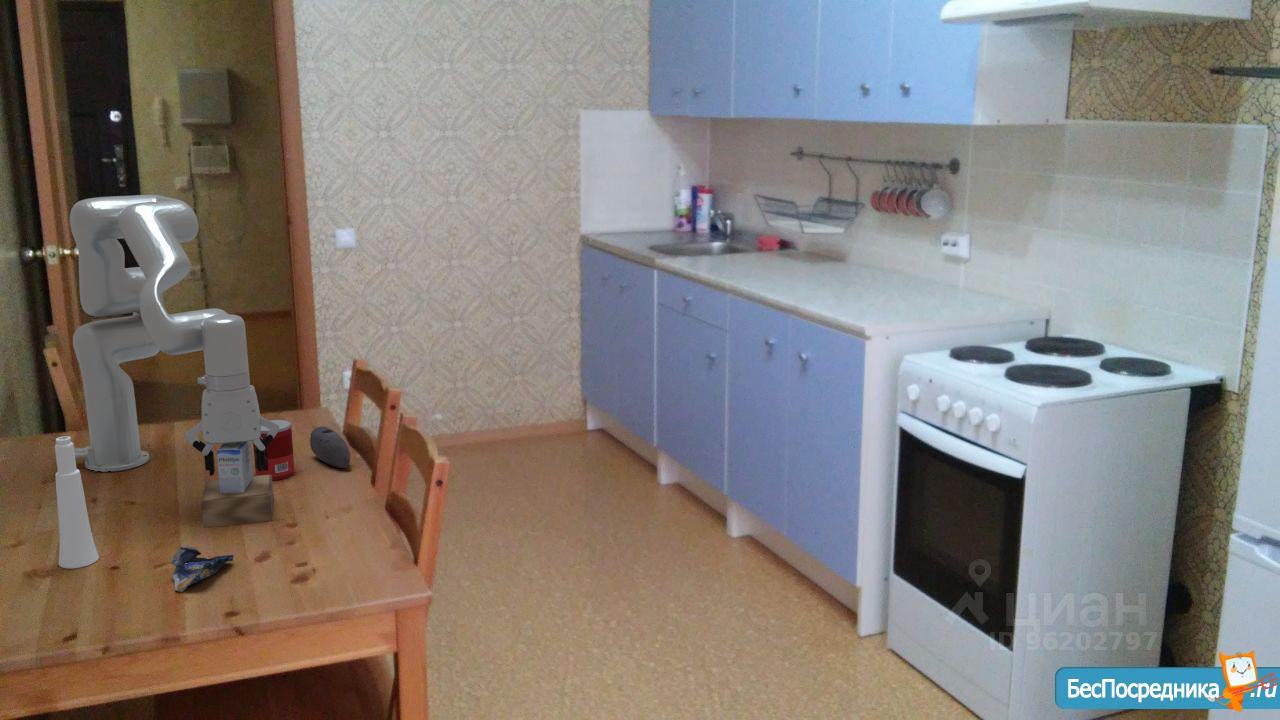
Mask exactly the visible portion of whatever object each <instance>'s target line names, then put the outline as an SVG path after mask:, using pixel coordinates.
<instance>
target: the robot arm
mask: <svg viewBox="0 0 1280 720" xmlns="http://www.w3.org/2000/svg"><path fill="white" fill-rule="evenodd" d="M69 214H70V215H69V225H70V230H71V234H72V236H73V239H74V242H75V245H76V248H77V252H78V253H77V254H78V279H79V281H78V282H79V298H80V299H79V300H80V305H81V307H82V308H81V309H82V310H83V311H84V312H85V313H86V314H87V315H89V316H92V317H98V318H100V317H111V316H119V315H125V314H131V313H132V315H129V316H123V317H115V318H107V319H101V320H95V321H94V320H93V321H90V322H87V323H84V324H82V325H80V326H79V327H78V328H77V329H76V330H75V332H74V333H73V336H72V344H73V345H72V347H73V349H74V353H75V356H76V359H77V362H78V365H79V369H80V374H81V379H82V385H83V391H84V392H83V393H84V400H85V409H86V417H87V425H88V433H89V442H90V444H89V445H86V446H85V447H74V452H75V460H76V459H77V460H78V459H79V460H80V459H85V461H84V467H85V469H87V468H88V469H90V470H89V471H91V470H94V471H93V472H97V471H101V472H102V473H106V472H107V473H108V471H111V472H121V471H126V470H130V469H134V468H137V467H140V466H142V465H144V464H146V463H147V462H149V460H150V454H149V452H147V451H145V450H141V443H140V432H139V424H138V415H137V407H136V406H137V405H136V398H135V389H134V383H133V380H132V378H131V376H129V374H128V373H126V372H125V371H124V370H123V369H122V368H121V366H120V364H122V363H126V362H131V361H136V360H142V359H147V358H151V357H154V356H156V355H158V354H159V352H160V351H161V352H163V354H166V355H168V356H169V355H170V356H173V355H174V356H176V355H182V354H188V353H193V352H199V351H203V357H204V358H203V360H204V370H205V374H204V375H203V376H201V377H197V384H198V385H202V386H204V387H206V388H205V389H203V390H202V396H201V421H199V422H198V423H197V424H196V425H194V426H193V427H191V428H190V429H189V430H187V431H186V432H185V433H184V438H185V439H186V440H187V441H188V442H189V444H191V445H192V447H193V449H196V450H197V451H198V452H199V453H201V454H202V456H204V457H203V458H204V469H205V471H209V476H211V477H212V476H214V475H215V472H216V469H215V468H216V467H215V456H214V455H215V454H214V451H213V450H212V448H214V446H215V445H222V444H227V443H239V442H250V443H252V444H253V443H254V444H255V445H256V446H257V448H256V458H257V470H258V471H262V465H265V451H264V450H265V448H266V447H267V446H268V445H269V444H270V442H271V441H272V440H273V438H274V437H275V435H276V434H277V432H278V431H279V425H277V424H275V423H273V422H272V421H270V420H269V419H268V418H265V417H264V416H262V415H261V413H260V407H259V402H258V395H257V393H256V389H255V386H254V385H252V384H251V380H250V379H251V378H250V370H249V369H250V368H249V359H248V358H249V356H248V344H247V333H246V332H247V331H246V324H245V321H244V319H243V318H242V317H241V316H240V315H237V314H232V313H231V314H229V313H228V312H226V311H225V310H223V309H220V308H204V309H198V310H189V311H185V312H177V313H176V312H175V313H172V314H171V313H168V312H167V310H166V308H165V307H164V301H163V299H164V298H163V293H164V292H165V291H167V290H168V289H170V288H172V287H173V286H175V285H177V284H178V283H179V282H181V281H183V279H184V278H185V277H187V275H188V274H189V272H190V270H191V260H190V259H189V256H187V253H186V252H185V250H184V249H183V247H182V245H181V243H187V242H191V241H193V240H194V239H195V238H196V237H197V236H198V233H199V220H198V217H197V215H196V213H195V211H194V210H193V208H192V207H191V206H190V205H189V204H188V203H187V202H185V201H183V200H180V199H178V198H172V197H167V196H164V195H158V194H135V195H117V196H115V195H114V196H99V197H91V198H85V199H82V200H79V201H77V202H76V203H75V204H74V205H73V206H72V207H71V210H70V213H69ZM118 239H123V240H124V241H125V242H126V245H127V246H128V248H129V250H130V252H131V254H132V256H133V257H134V259H135V261H136V263H137V265H138V266H135V267H127V268H126V267H125V265H126V264H125V260H126V259H125V258H126V257H125V251H124V248H123V246H122V244H121V243H120V241H119V240H118ZM261 425H262V426H264V427H266V428H268V429H269V430H270V431H269V433H268V434H267V435H266V436H265V437H264V438H263V439H262V438H261V436H260V435H261ZM201 431H202V438H203V441H204V442H203V441H201V440H200V439H198V437H197V436H196V435H198V434H199V433H200V432H201ZM88 469H87V470H88ZM101 472H100V473H101Z"/></svg>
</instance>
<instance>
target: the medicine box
mask: <svg viewBox="0 0 1280 720" xmlns="http://www.w3.org/2000/svg"><path fill="white" fill-rule="evenodd" d="M251 443H252V442H251V441H250V442H239V443H227V444H220V447H219V448H218V449H217V450H216V459H217V461H216V462H217V468H218V469H217V470H218V471H217V472H218V480H219V484H220V493H221V494H237V493H244V492H245V490H246V488H247V487H248V485H249V484H250V482H251V480H252V479H253V476H254V474H253V473H254V472H253V459H252V447H251V446H252V445H251Z"/></svg>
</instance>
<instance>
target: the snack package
mask: <svg viewBox="0 0 1280 720" xmlns="http://www.w3.org/2000/svg"><path fill="white" fill-rule="evenodd" d="M201 555H202V553H201V551H200V550H198V548H195V547H192V546H190V547H189V546H180V547H179V549H178V550H177V551H176V552H175V553H174V554H173V555H172V559H171V561H170V563H171V565H172V566H175V568H174V571H173V573H172V574H173V575H172V576H173V578H172V579H173V581H174V588H175V589H174V591H177V592H179V593H182V592H184V591H185V590H186V589H187V588H188V587H189V586H191V585H194V584H196V583H197V582H200V581H201V580H204V579H206V578H209V577H212V576H213V575H215V574H216V573H217V572H218V571H219V570H220V569H221V568H222V567H223V566H224V565H225V564H226V563H228V562H233V560H234V556H235V555H234V554H230V555H229V554H228V555H227V554H226V555H217V556H213V557H211V558H206V557H198V556H201ZM185 563H187V564H185ZM194 574H195V575H194ZM193 575H194V577H193ZM192 577H193V578H192ZM190 578H192V579H190ZM188 579H190V581H189V582H187V583H186V585H185V586H182V587H181V588H177V586H179V585H180V584H182V583H184V581H186V580H188Z"/></svg>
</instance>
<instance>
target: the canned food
mask: <svg viewBox="0 0 1280 720" xmlns="http://www.w3.org/2000/svg"><path fill="white" fill-rule="evenodd" d="M270 421H272V422H273V423H275V424H277V425H279V431H278V432H277V434H276V435H275V437H274V438H273V440H272V441H271V442H270V444H269V445H268V446H267V447H266V448H265V450H264V451H265V465H262V471H258V470H257V458H256V448H257V446H256V445H255V444H254V443H253V442H252V446H253V460H254V468H255V476H262V475H272V482H273V481H279V480H283V479H287V478H289V477H291V476H293V475H294V471H295V459H294V445H293V433H292V432H293V431H292V430H293V429H292V423H291V422H290V421H288V420H284V419H283V420H282V419H272V420H270ZM269 431H270V430H269V429H268V428H266V427H264V426H262V425H261V435H260V436H261V438H262V439H263V438H264V437H265V436H266V435H267V434H268V433H269Z"/></svg>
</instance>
